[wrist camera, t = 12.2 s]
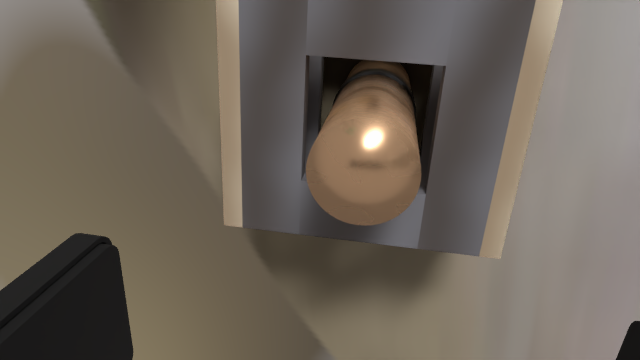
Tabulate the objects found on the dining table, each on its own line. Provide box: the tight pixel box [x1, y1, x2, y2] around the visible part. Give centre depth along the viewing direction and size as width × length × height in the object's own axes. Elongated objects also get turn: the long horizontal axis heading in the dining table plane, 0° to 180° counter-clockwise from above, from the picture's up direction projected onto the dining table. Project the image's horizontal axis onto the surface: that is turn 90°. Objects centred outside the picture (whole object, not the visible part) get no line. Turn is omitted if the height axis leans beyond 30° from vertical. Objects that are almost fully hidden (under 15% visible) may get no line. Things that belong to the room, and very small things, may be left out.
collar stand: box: [216, 0, 563, 259], centre depth 25 cm, size 14×12×8 cm
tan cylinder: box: [306, 60, 421, 226], centre depth 23 cm, size 4×4×14 cm
